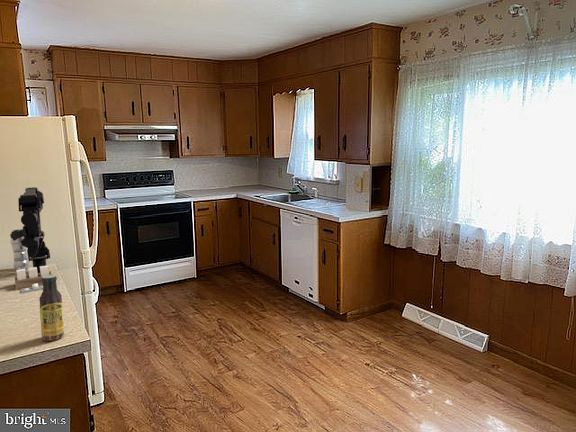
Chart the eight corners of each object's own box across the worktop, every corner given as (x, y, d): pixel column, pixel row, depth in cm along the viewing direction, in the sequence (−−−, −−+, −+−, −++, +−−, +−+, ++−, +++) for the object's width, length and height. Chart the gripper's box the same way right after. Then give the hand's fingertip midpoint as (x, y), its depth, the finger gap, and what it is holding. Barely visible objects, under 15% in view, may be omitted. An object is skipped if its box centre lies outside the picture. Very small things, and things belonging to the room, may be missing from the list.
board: (15, 284, 190) (14, 276, 190) (51, 278, 198) (50, 271, 197) (16, 290, 182) (15, 282, 182) (53, 284, 190) (52, 276, 189)
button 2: (40, 277, 192) (39, 266, 192) (49, 276, 194) (47, 265, 193) (41, 279, 190) (40, 268, 189) (49, 277, 192) (48, 266, 191)
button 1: (17, 281, 188) (16, 269, 187) (26, 279, 189) (25, 268, 189) (17, 282, 185) (16, 271, 184) (26, 281, 187) (25, 270, 186)
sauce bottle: (43, 344, 130) (36, 280, 127) (41, 337, 135) (33, 276, 132) (67, 338, 134) (60, 276, 131) (64, 331, 139) (57, 272, 136)
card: (21, 290, 182) (20, 285, 182) (48, 285, 187) (47, 280, 187) (21, 293, 178) (21, 287, 178) (49, 288, 184) (48, 283, 183)
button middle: (29, 279, 190) (28, 268, 189) (37, 277, 192) (36, 267, 191) (29, 280, 187) (28, 269, 187) (38, 279, 189) (36, 268, 188)
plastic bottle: (24, 271, 211) (19, 231, 208) (11, 271, 211) (5, 231, 208) (32, 267, 218) (27, 228, 215) (19, 267, 218) (14, 229, 215)
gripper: (15, 220, 199) (19, 253, 201) (5, 227, 182) (10, 263, 184) (42, 218, 203) (46, 250, 205) (35, 225, 185) (39, 260, 188)
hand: (35, 256), depth 196 cm, fingers open, 8 cm apart
